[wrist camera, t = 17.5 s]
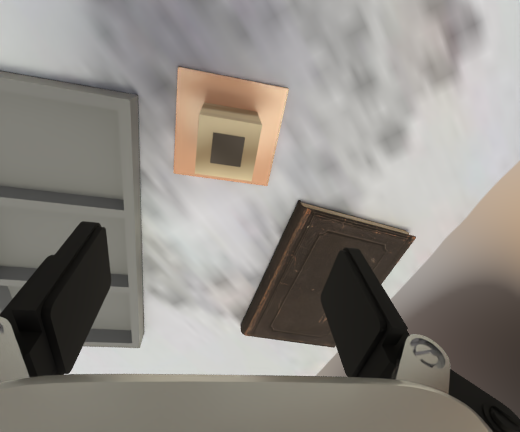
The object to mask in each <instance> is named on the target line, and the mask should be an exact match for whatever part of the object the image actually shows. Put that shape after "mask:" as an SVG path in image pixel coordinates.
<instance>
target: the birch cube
mask: <svg viewBox="0 0 520 432" xmlns="http://www.w3.org/2000/svg"><path fill="white" fill-rule="evenodd" d="M261 129H262V123H261V121H260V118H259V116H258V113H257V112H255V111H250V110H244V109H239V108H233V107H227V106H222V105H216V104H211V103H205V102H204V104H203V106H202V109H201V111H200V114H199V124H198V137H197V150H196V163H195V174H201V175H208V176H216V177H223V178H230V179H238V180H245V181H252V177H253V171H254V166H255V161H256V155H257V150H258V145H259V140H260V134H261Z"/></svg>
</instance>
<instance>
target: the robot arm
mask: <svg viewBox="0 0 520 432" xmlns="http://www.w3.org/2000/svg"><path fill="white" fill-rule="evenodd" d="M110 286H111V272H110V262H109V253H108V244H107V234H106V228H105V227H101V225H100V223H96V222H86V221H82V222H80V223H79V225H78V226H77V227H76V228H75V230H74V231H73V232H72V234H71V235H70V236H69V237H68V239H67V240H66V241H65V242H64V244H63V245H62V246H61V247H60V249H59V250H58V251H57V252H56V254H55V255H50V256H48V257H47V258H46V259H45V260H44V261H43V262H42V264H41V265H40V266H39V267H38V268H37V270H36V271H35V272H34V273H33V275H32V276H31V277H30V278H29V279H28V281H27V282H26V283H25V284H24V285H23V287H22V288H21V289H20V290H19V292H18V293H17V294H16V295H15V296H14V298H13V299H12V300H11V301H10V302H9V304H8V305H7V306H6V307H5V309H4V310H3V311H2V312H1V313H0V432H520V419H519V418H518V417H517V416H516V415H515V414H514V413H513V412H512V411H511V410H510V409H509V408H507V407H506V406H505V405H503V404H502V403H501V402H499V401H498V400H496V399H495V398H493V397H492V396H490V395H489V394H487V393H486V392H484V391H483V390H481V389H480V388H478V387H477V386H475V385H474V384H472V383H471V382H469V381H468V380H466V379H465V378H463V377H461V376H460V375H458V374H457V373H455V372H454V371H452V370H451V369H450V361H449V358H448V356H447V354H446V353H445V352H444V351H443V349H442V348H441V347H440V346H439V345H438V344H436V343H435V342H434V341H432V340H431V339H429V338H427V337H425V336H422V335H418V334H412V335H409V333H408V331H407V329H408V328H407V326H406V324H405V323H404V322H403V320H402V318H401V316H400V315H399V313H398V312H397V310H396V308H395V307H394V305H393V303H392V302H391V300H390V298H389V297H388V295H387V293H386V292H385V290H384V289H383V287H382V285H381V284H380V282H379V280H378V279H377V277H376V275H375V274H374V272H373V271H372V269H371V267H370V266H369V264H368V262H367V261H366V259H365V257H364V256H363V254H362V253H361V251H360V250H359V249H357V248H347V247H345V248H344V249H343V250H340V251H339V253H338V255H337V257H336V260H335V262H334V264H333V267H332V269H331V272H330V274H329V276H328V279H327V281H326V283H325V286H324V288H323V291H322V293H321V304H322V307H323V310H324V312H325V315H326V318H327V321H328V324H329V327H330V330H331V333H332V336H333V338H334V341H335V344H336V347H337V350H338V353H339V355H340V358H341V362H342V364H343V367H344V370H345V373H346V375H347V376H348V377H327V376H325V377H324V376H323V377H322V376H321V377H320V376H272V375H195V374H69V375H64V374H68V373H70V371H71V370H72V368H73V366H74V364H75V361H76V359H77V357H78V355H79V353H80V351H81V349H82V347H83V344H84V342H85V340H86V338H87V336H88V334H89V332H90V330H91V327H92V325H93V323H94V321H95V319H96V317H97V315H98V313H99V310H100V308H101V306H102V304H103V302H104V300H105V298H106V296H107V293H108V291H109V289H110Z"/></svg>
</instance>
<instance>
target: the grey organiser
mask: <svg viewBox="0 0 520 432" xmlns="http://www.w3.org/2000/svg"><path fill="white" fill-rule="evenodd" d="M82 221H86V222H96V223H100V225H101V227H105V228H106V234H107V244H108V253H109V262H110V272H111V286H110V289H109V291H108V293H107V296H106V298H105V300H104V302H103V304H102V306H101V308H100V310H99V313H98V315H97V317H96V319H95V321H94V323H93V325H92V327H91V330H90V332H89V334H88V336H87V338H86V340H85V342H84V344H83V346H90V347H124V348H140V345H141V342H142V338H143V335H144V309H143V270H142V231H141V192H140V154H139V115H138V95H135V94H129V93H123V92H118V91H112V90H106V89H101V88H95V87H90V86H84V85H78V84H73V83H67V82H61V81H56V80H50V79H44V78H39V77H33V76H27V75H22V74H16V73H10V72H5V71H0V313H1V312H2V311H3V310H4V309H5V307H6V306H7V305H8V304H9V302H10V301H11V300H12V299H13V298H14V296H15V295H16V294H17V293H18V292H19V290H20V289H21V288H22V287H23V285H24V284H25V283H26V282H27V281H28V279H29V278H30V277H31V276H32V275H33V273H34V272H35V271H36V270H37V268H38V267H39V266H40V265H41V264H42V262H43V261H44V260H45V259H46V258H47V257H48V256H50V255H55V254H56V252H57V251H58V250H59V249H60V247H61V246H62V245H63V244H64V242H65V241H66V240H67V239H68V237H69V236H70V235H71V234H72V232H73V231H74V230H75V228H76V227H77V226H78V225H79V223H80V222H82Z"/></svg>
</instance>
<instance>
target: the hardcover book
mask: <svg viewBox="0 0 520 432" xmlns="http://www.w3.org/2000/svg"><path fill="white" fill-rule="evenodd" d="M415 238H416V237H415V236H412V235H409V233H408V232H406V231H405V230H401V229H397V228H394V227H390V226H386V225H383V224H379V223H375V222H372V221H368V220H364V219H361V218H357V217H353V216H349V215H346V214H342V213H338V212H335V211H331V210H327V209H324V208H320V207H316V206H313V205H309V204H305V203H302V202H301V201H300V200H299V201H298V203H297V205H296V207H295V210H294V212H293V214H292V216H291V218H290V220H289V223H288V225H287V227H286V229H285V231H284V233H283V235H282V238H281V240H280V242H279V244H278V246H277V248H276V251H275V253H274V255H273V257H272V259H271V261H270V263H269V266H268V268H267V270H266V272H265V274H264V276H263V279H262V281H261V283H260V285H259V287H258V289H257V291H256V294H255V296H254V298H253V300H252V302H251V304H250V307H249V309H248V311H247V313H246V315H245V317H244V319H243V322H242V324H241V332H242V333H243V334H244V335H246V336H253V337H261V338H268V339H275V340H283V341H290V342H297V343H305V344H312V345H319V346H327V347H335V346H336V344H335V341H334V338H333V336H332V333H331V330H330V327H329V324H328V321H327V318H326V315H325V312H324V310H323V307H322V304H321V293H322V291H323V288H324V286H325V283H326V281H327V279H328V276H329V274H330V272H331V269H332V267H333V264H334V262H335V260H336V257H337V255H338V253H339V251H340V250H343V249H344V248H345V247H347V248H357V249H359V250H360V251H361V253H362V254H363V256H364V257H365V259H366V261H367V262H368V264H369V266H370V267H371V269H372V271H373V272H374V274H375V275H376V277H377V279H378V280H379V282H380V284H382V283H383V281H384V280H385V279H386V277H387V276H388V275H389V273H390V272H391V271H392V269H393V268H394V266H395V265H396V264H397V262H398V261H399V260H400V258H401V257H402V256H403V254H404V253H405V252H406V250H407V249H408V248H409V246H410V245H411V244H412V242H413V241H414V240H415Z"/></svg>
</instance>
